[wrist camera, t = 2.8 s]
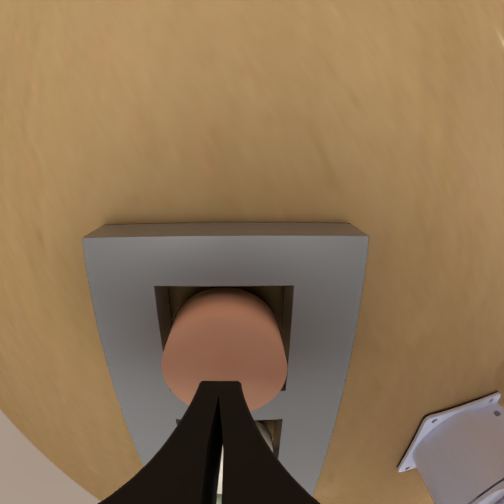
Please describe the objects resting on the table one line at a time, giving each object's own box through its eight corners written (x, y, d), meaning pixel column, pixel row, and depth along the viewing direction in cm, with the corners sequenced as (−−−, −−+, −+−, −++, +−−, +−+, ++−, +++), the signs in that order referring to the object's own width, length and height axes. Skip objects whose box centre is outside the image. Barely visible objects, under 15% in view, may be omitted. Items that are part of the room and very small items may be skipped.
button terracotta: (281, 286, 14) (291, 317, 11) (276, 375, 15) (283, 413, 13) (167, 287, 14) (153, 317, 11) (178, 375, 15) (170, 413, 12)
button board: (349, 223, 15) (369, 236, 13) (299, 500, 23) (303, 520, 20) (103, 225, 14) (82, 238, 12) (172, 501, 22) (170, 521, 20)
